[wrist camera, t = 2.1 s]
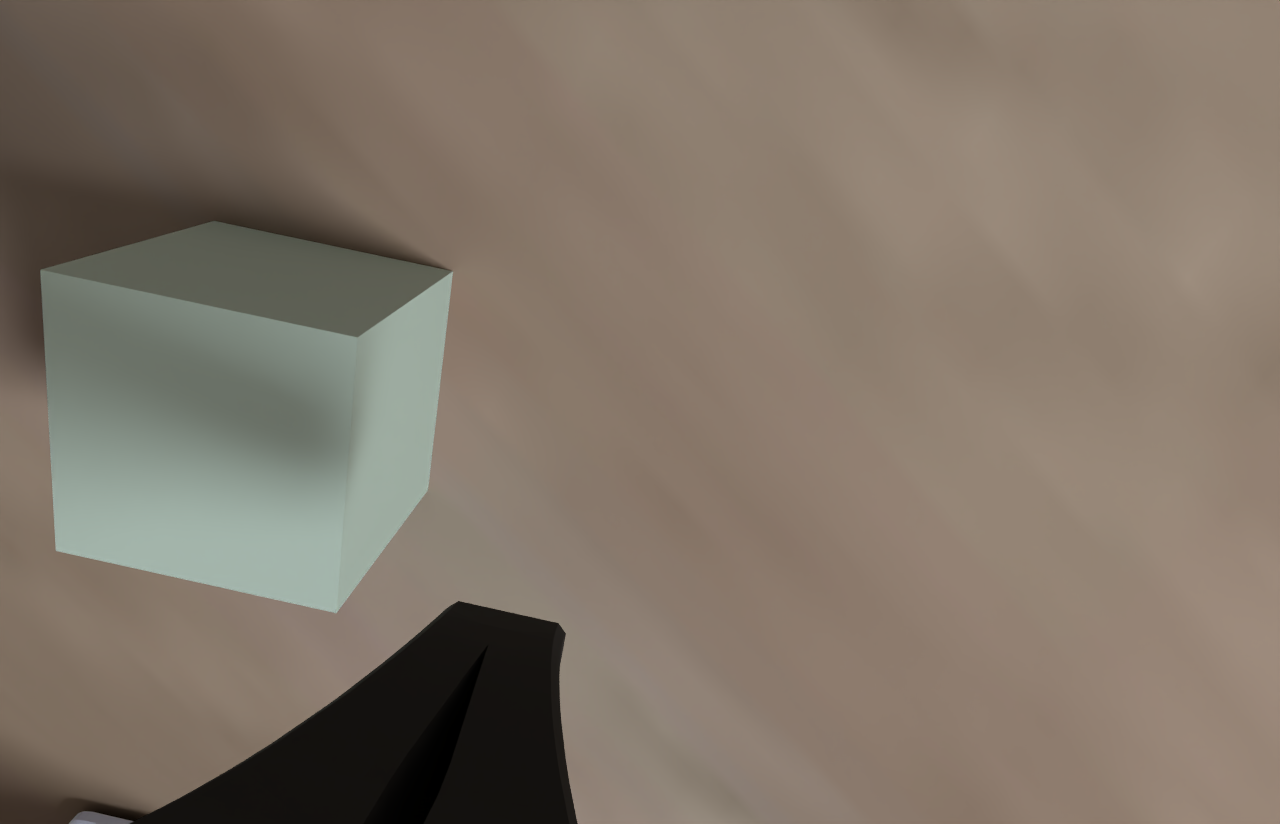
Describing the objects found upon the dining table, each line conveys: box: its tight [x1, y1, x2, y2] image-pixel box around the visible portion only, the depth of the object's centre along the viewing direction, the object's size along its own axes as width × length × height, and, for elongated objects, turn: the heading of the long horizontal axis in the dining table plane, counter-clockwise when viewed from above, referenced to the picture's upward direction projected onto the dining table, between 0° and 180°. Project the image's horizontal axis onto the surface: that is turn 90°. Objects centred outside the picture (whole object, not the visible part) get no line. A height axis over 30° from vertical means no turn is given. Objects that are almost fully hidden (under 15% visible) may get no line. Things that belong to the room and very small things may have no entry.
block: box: [40, 221, 453, 613], centre depth 17 cm, size 5×5×5 cm
